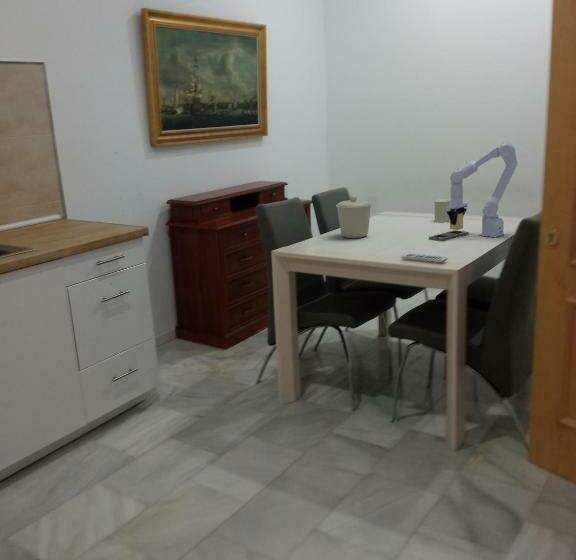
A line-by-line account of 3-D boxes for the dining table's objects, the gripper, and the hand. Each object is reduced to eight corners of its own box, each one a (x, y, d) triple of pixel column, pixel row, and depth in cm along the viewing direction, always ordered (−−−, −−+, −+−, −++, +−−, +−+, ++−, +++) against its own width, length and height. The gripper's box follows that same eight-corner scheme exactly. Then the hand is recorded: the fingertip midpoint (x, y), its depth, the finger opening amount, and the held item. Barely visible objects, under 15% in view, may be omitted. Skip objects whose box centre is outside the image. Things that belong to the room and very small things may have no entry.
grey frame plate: (468, 234, 312) (468, 231, 311) (442, 241, 300) (442, 238, 299) (454, 232, 318) (454, 230, 318) (428, 239, 306) (428, 236, 306)
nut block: (463, 228, 311) (463, 212, 309) (457, 229, 309) (457, 214, 307) (455, 227, 315) (455, 212, 313) (449, 228, 312) (449, 213, 310)
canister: (371, 239, 314) (370, 197, 308) (335, 240, 318) (333, 198, 312) (373, 232, 331) (372, 192, 325) (339, 233, 335) (337, 193, 329)
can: (447, 223, 343) (447, 201, 340) (431, 222, 349) (431, 200, 346) (454, 220, 350) (454, 198, 347) (438, 219, 356) (438, 198, 353)
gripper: (459, 193, 315) (458, 220, 318) (440, 197, 306) (440, 225, 310) (471, 194, 309) (470, 222, 313) (452, 198, 301) (452, 226, 304)
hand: (456, 223), depth 311 cm, fingers closed on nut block, 4 cm apart
